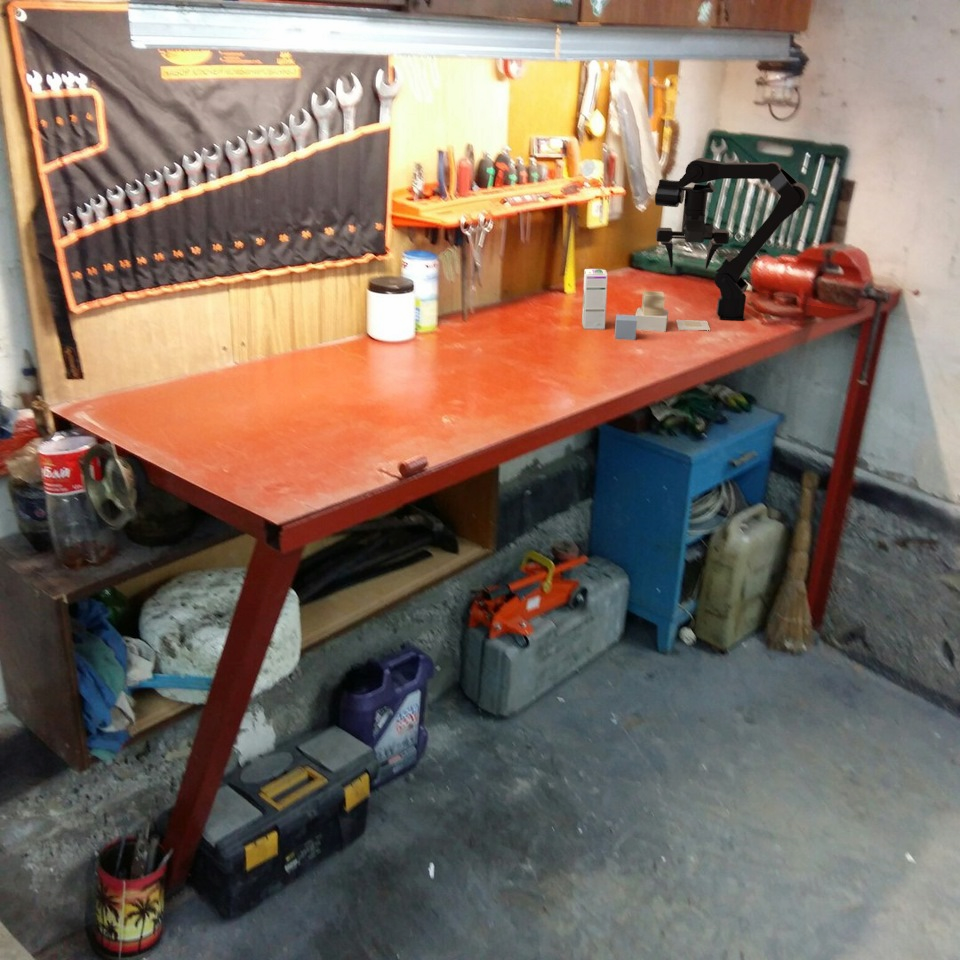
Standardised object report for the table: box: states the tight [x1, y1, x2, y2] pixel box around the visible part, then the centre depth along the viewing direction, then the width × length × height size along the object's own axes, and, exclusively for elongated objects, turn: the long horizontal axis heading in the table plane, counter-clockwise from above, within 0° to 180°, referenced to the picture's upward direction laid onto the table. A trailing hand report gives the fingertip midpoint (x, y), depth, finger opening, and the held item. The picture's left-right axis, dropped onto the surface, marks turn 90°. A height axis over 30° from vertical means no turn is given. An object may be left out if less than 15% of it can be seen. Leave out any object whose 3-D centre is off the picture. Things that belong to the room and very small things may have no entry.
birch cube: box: [641, 290, 666, 316], centre depth 254 cm, size 5×5×5 cm
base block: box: [635, 307, 669, 333], centre depth 256 cm, size 8×8×4 cm
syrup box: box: [581, 268, 609, 330], centre depth 253 cm, size 6×6×14 cm
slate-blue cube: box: [614, 314, 637, 341], centre depth 247 cm, size 5×5×5 cm
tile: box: [675, 319, 711, 332], centre depth 257 cm, size 8×8×1 cm
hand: (688, 267), depth 265 cm, fingers open, 9 cm apart
